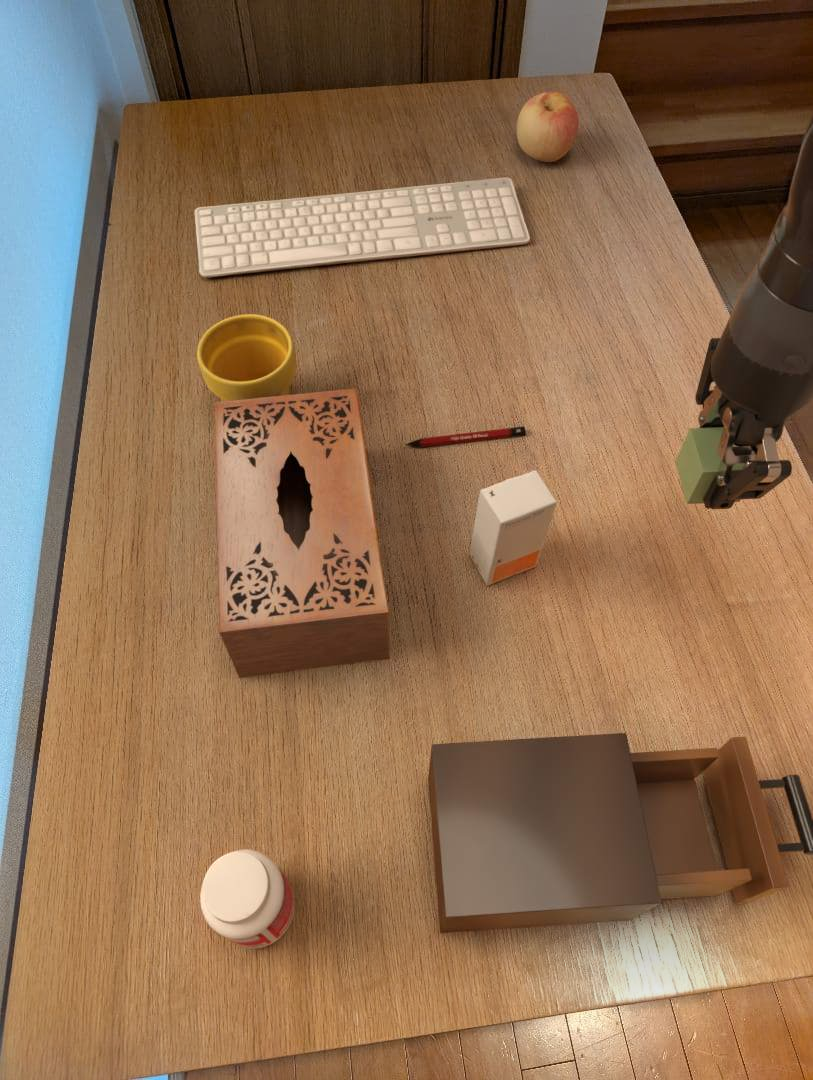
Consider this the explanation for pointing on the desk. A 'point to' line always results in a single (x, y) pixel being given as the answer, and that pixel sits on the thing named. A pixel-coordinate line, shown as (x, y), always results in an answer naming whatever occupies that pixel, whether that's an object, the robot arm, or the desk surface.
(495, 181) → the keyboard
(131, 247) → the desk surface
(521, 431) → the pencil
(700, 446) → the block
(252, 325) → the flower pot
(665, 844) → the drawer
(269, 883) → the pill bottle
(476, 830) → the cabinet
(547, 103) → the apple
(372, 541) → the tissue box cover
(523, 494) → the cosmetic box
